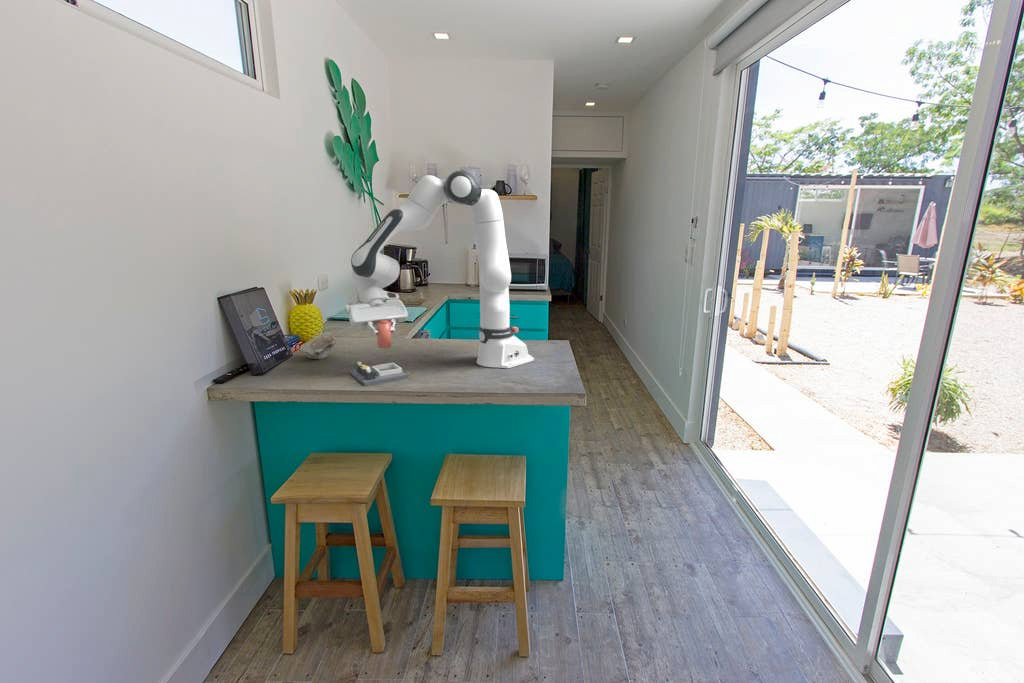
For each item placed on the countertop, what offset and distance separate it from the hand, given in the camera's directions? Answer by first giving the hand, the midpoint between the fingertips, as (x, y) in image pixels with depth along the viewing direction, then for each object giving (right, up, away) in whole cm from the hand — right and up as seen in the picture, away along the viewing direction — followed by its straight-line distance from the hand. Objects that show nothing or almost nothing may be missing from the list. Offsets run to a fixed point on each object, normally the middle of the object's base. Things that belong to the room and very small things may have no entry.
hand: (384, 333), depth 174 cm
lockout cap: (0, -5, +2) cm, 5 cm away
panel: (-3, -15, +3) cm, 15 cm away
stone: (-32, -10, +23) cm, 40 cm away
